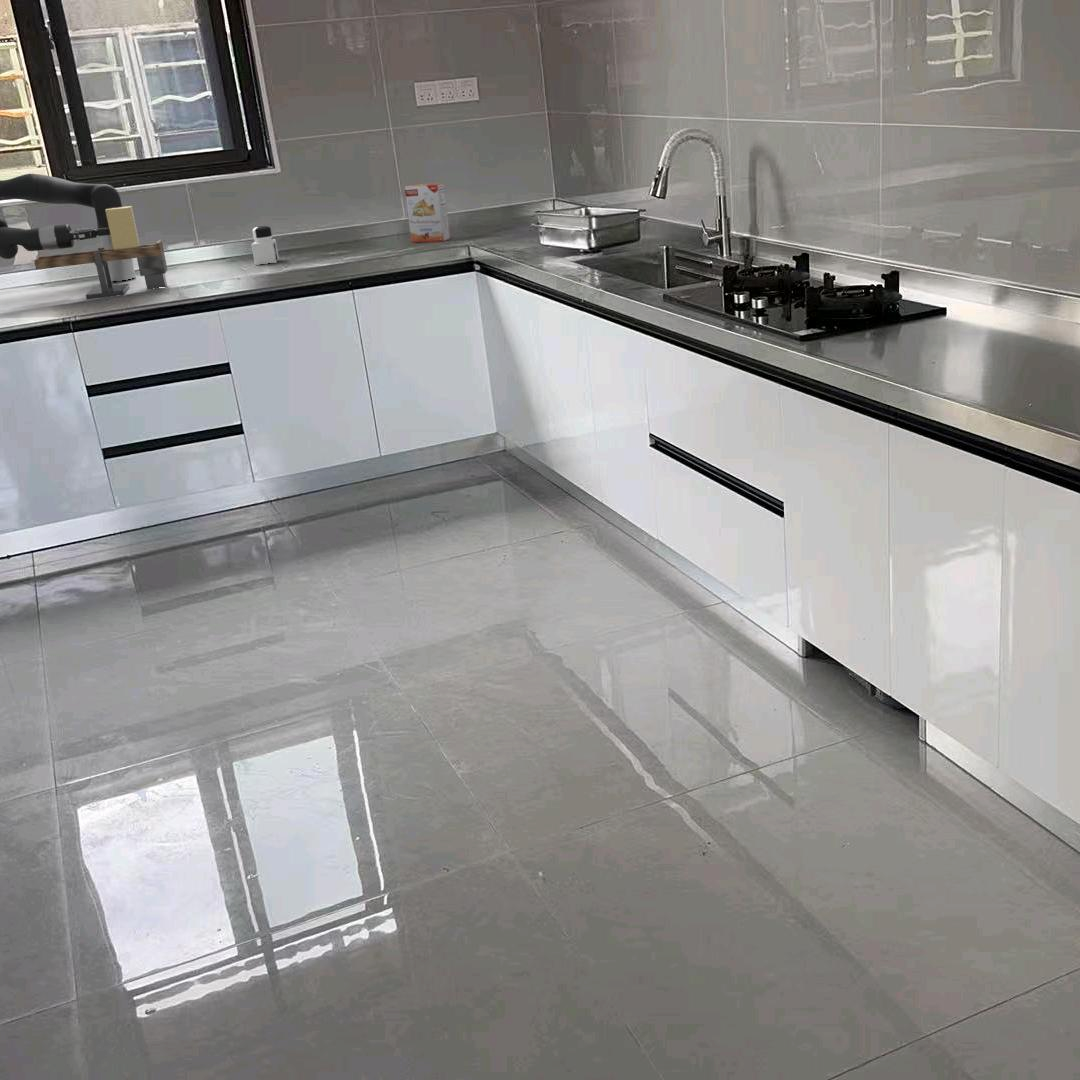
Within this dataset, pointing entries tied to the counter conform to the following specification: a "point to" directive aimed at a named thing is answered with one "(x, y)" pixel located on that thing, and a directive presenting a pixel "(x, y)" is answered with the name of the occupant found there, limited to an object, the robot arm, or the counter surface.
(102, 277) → the pivot stand
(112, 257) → the beam
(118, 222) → the rider
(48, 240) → the robot arm
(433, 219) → the cracker box
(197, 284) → the counter surface
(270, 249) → the container
